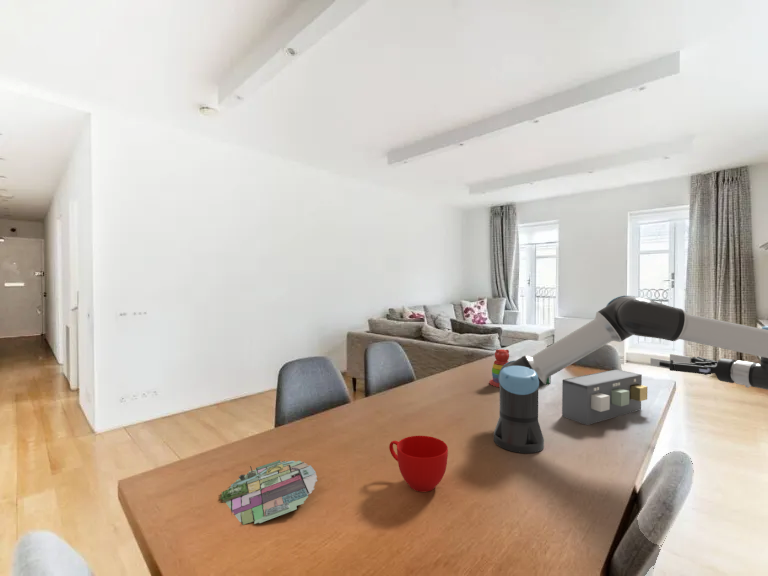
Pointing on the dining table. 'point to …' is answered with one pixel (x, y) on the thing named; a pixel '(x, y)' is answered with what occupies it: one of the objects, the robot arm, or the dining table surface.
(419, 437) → the ceramic cup
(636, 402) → the button console
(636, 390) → the brass button
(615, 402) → the sage button
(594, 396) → the white button
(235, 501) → the city model
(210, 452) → the dining table surface
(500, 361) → the stacking bear
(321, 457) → the dining table surface
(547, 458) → the dining table surface
